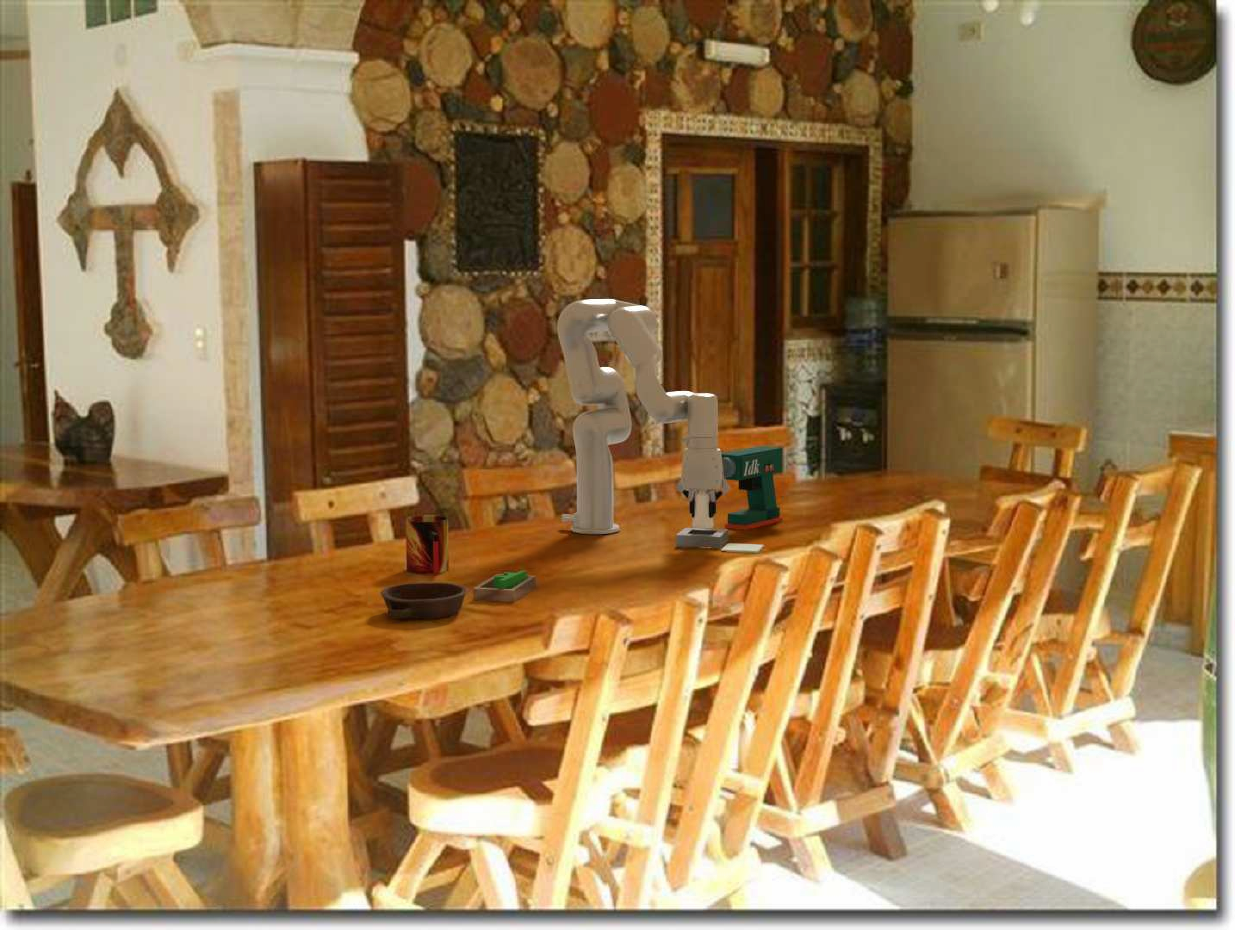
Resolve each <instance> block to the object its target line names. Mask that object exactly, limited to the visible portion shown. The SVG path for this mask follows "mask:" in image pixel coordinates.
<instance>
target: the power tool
mask: <svg viewBox="0 0 1235 930" xmlns="http://www.w3.org/2000/svg"><path fill="white" fill-rule="evenodd" d="M721 455H722V462H723V473H724V479H725V480H726V481H727V480H729V481H738V490H741V491H746V497H747V503H748V508H745V509H741V510H738V511H733V512H728V513H727V522H725V523H724V528H725V529H731V528H737V529H736V530H740V529H745V530H744V531H747V530H746V529H748V530H750V529H749V528H752V529H756V528H759V527H763V525H764V526H768V525H772V524H776V523H779V522H783V516H780V515H781V506H778V503H777V495H776V490H775V480H774V474H776V473H777V474H778V473H782V472H783V447H779V446H765V445H759V446H753V447H748V448H743V449H738V450H731V451H727V452H721ZM775 522H776V523H775ZM771 523H772V524H771ZM767 524H768V525H767ZM738 528H739V529H738Z"/></svg>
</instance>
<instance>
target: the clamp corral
mask: <svg viewBox="0 0 1235 930" xmlns="http://www.w3.org/2000/svg"><path fill="white" fill-rule="evenodd" d="M494 576H504V575H503V573H496V574H495V575H493V576H491V577H490V578H488V579H487V580H485V581H483V582H482V583H479V584H477V586H474V587H473V588H472V600H473V601H482V600H485V601H487V602H504V603H515V602H516V601H518V600H520V599H521V598H522V597H524V596H526V595H527V594H528V593H530V592H531V591H533V590H534V589H536V588H537V575H528V574H527V579H526V580H524V581H523V582H521V583H520V584H518V585H517V586H515V587H513V588H512V589H495V588H494ZM529 591H530V592H529ZM521 596H522V597H521ZM520 597H521V598H520ZM517 599H518V600H517Z"/></svg>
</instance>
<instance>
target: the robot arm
mask: <svg viewBox="0 0 1235 930" xmlns="http://www.w3.org/2000/svg"><path fill="white" fill-rule="evenodd" d="M556 326H557V327H556V328H557V329H556V330H557V335H558V341H559V343H560V347H561V351H562V354H563V358H564V364H565V370H566V375H567V380H568V384H569V391H570V394H571V397H572V399H573V400H574V402H575V403H576V404H578V405H580V406H594V405H597V409H591V410H590V409H589V410H586V411H584V412H582V413H579V415H578V416H577V417H576V418H575V420H574V421H573V424H572V425H573V426H572V436H573V442H574V446H575V455H576V458H575V459H576V512H575V513H573V514H569V513H568V514H566V513H563V514H561V522H563V523H572V525H571V526H570V529H571V532H573V533H575V534H576V533H577V534H584V535H603V534H604V535H606V534H607V535H609V534H613V533H617V532H619V531H620V526H619V525H618V524H616V523H614V519H615V518H614V461H613V456H612V453H611V451H610V447H609V445H615V444H619V443H622V442H624V441H626V440H627V439H628V438H629V437H630V435H631V432H632V427H633V426H632V423H633V422H632V416H631V415H632V414H631V412H630V411H631V410H630V406H629V402H628V401H629V400H628V396H627V391H626V386H625V383H624V380H623V378H622V376H621V374H620V373H619V372H618V371H617V370H616V369H614V368H612V367H607V366H602V367H601V366H600V364H599V359H598V354H597V351H596V347H595V345H594V344H593V342H592V340H591V339H590V337H589V336H588V335H589V334H590V333H602V332H603V333H604V332H605V333H607V332H609V333H610V335H612V336H611V337H613V339H614V340H615V342H616V344H617V345H618V347H619V348H620V351H621V352H622V353H623V354H624V357H625V358H626V360H627V362H628V363H629V364H630V366H631V367H632V370H633V384H634V390H635V394H636V396H637V398H638V400H639V402H640V403H641V406H643V408H644V409H645V411H646V412H647V414H648V415H649V416H650V417H651V419H653V420H654V421H655V422H657V423H659V424H671V423H679V422H686V421H687V422H686V423H687V425H686V426H687V427H686V428H687V429H686V430H687V436H686V437H684V438H681V444H682V445H685V446H686V448H684V450H683V452H682V453H683V455H682V463H681V477H680V479H679V481H678V482H677V484H676V486H675V490H676V491H678V492H680V493H681V494H682V495H683V496H684V497H685V498H686V499H687V501H689V514H691V518H693V517H695V494H696V493H697V491H698V490H708V493H710V498H711V499H710V502H709V517H710V518H712V517H713V518H714V517H715V515H716V514H717V501H718V500H719V498H720V497H722V496H723V495H724V494H726V493H728V492H729V491H730V490H731V486H730V485H729V484H728V482H727V480H726V479H724V473H723V462H722V455H721V453H722V451H721V449H720V448H719V444H718V443H719V441H718V440H719V437H718V436H719V425H718V424H719V417H718V415H719V413H718V412H719V409H718V408H719V401H718V400H719V399H718V396H717V395H716V394H713V393H708V392H707V393H706V392H705V393H704V392H701V393H700V392H699V393H697V392H696V393H695V392H692V391H687V390H681V391H680V390H679V391H669V392H666V391H665V389H664V387H663V386H662V384H661V383H660V381H659V379H658V376H657V374H656V366H657V365H658V364H659V363H660V361H661V360H662V357H663V350H662V349H661V348H660V346H659V344H658V343H657V341H656V340H655V338H654V337H653V335H654V334H655V333H656V331H657V329H658V320H657V317H656V314H655V313H654V312H653V311H652V309H650V308H649V307H647V306H644V305H640V304H635V303H631V302H626V301H622V300H618V299H613V298H612V299H611V298H602V299H601V298H600V299H599V298H596V299H591V298H590V299H581V300H576V301H573V302H571V303H569V304H567V306H565V307H564V308H563V310H562V311H561V313H560V315H559V317H558V321H557V325H556ZM720 488H721V489H720ZM719 489H720V490H719ZM717 490H719V491H717Z"/></svg>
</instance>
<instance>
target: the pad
mask: <svg viewBox="0 0 1235 930" xmlns="http://www.w3.org/2000/svg"><path fill="white" fill-rule="evenodd" d="M764 547H765V544H756V543H755V544H754V543H753V544H751V543H734V542H733V543H732V542H729V543H728V542H727V543H726V544H725V545H724V546H722V547H721V548H720V552H721V551H726V552H725V553H746V554H748V553H749V554H758V553H760V551H762V550H763V548H764Z"/></svg>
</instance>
